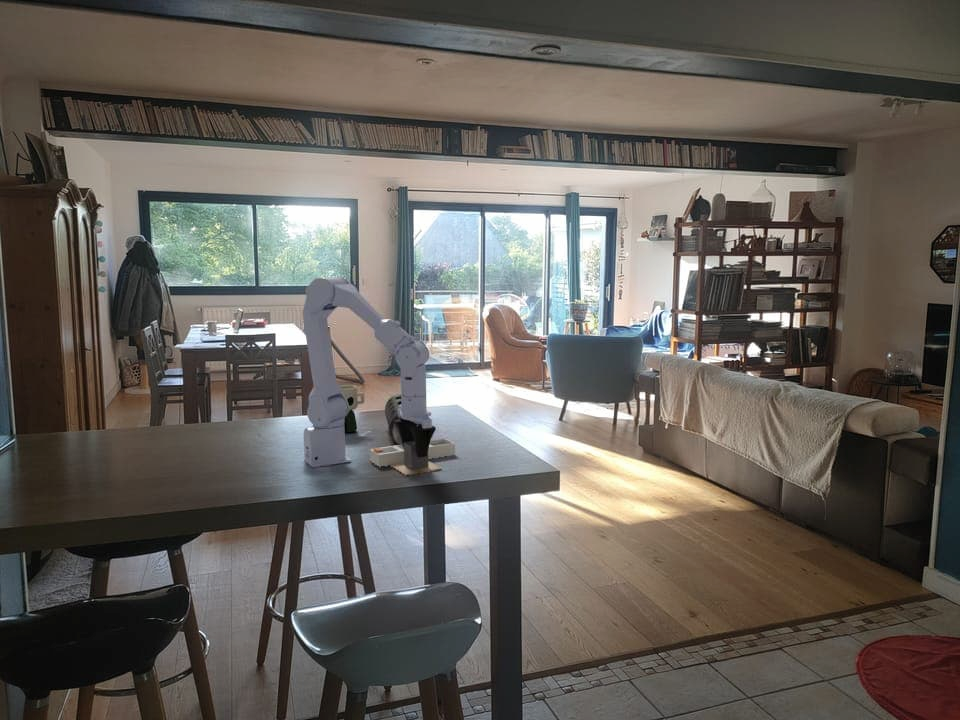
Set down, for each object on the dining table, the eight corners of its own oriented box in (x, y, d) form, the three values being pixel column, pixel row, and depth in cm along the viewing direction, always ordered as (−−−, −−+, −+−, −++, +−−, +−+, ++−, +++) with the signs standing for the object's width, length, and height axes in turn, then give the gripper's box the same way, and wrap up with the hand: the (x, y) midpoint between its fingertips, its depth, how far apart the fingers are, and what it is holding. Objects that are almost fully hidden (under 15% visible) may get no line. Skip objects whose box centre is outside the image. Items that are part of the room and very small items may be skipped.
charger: (411, 469, 155) (411, 446, 155) (404, 465, 159) (403, 442, 158) (428, 467, 157) (427, 443, 157) (420, 462, 161) (420, 439, 160)
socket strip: (379, 467, 159) (378, 452, 159) (370, 461, 164) (369, 446, 164) (455, 455, 169) (455, 440, 168) (444, 449, 174) (444, 435, 174)
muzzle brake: (417, 427, 200) (416, 392, 199) (428, 451, 173) (427, 411, 172) (384, 429, 198) (383, 394, 197) (390, 454, 171) (389, 413, 170)
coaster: (405, 476, 152) (405, 474, 152) (390, 466, 160) (390, 464, 160) (441, 469, 157) (441, 468, 157) (424, 460, 164) (424, 459, 164)
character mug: (326, 435, 190) (324, 390, 189) (326, 430, 197) (324, 385, 196) (365, 433, 192) (364, 388, 191) (365, 428, 199) (363, 384, 198)
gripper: (443, 398, 152) (444, 457, 154) (416, 388, 164) (417, 443, 166) (414, 401, 148) (416, 462, 150) (389, 391, 161) (390, 447, 163)
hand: (415, 452), depth 158 cm, fingers open, 7 cm apart
